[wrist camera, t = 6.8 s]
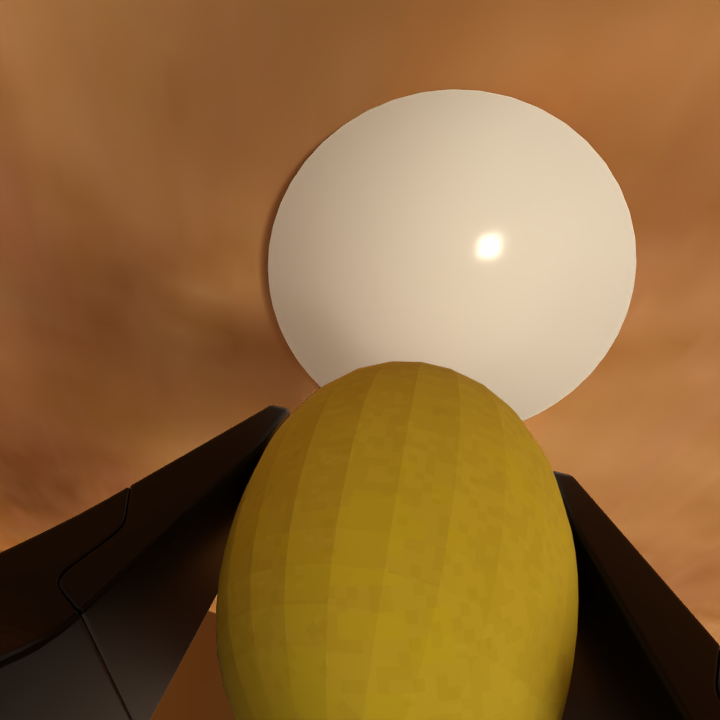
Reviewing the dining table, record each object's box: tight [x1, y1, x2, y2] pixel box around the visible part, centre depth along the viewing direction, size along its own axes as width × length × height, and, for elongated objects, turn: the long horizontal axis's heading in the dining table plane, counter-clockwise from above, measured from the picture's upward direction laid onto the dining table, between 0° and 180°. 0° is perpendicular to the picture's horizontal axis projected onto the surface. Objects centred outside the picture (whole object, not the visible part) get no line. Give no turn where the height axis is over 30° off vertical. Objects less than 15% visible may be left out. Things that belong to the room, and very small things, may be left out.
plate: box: [268, 89, 636, 421], centre depth 17 cm, size 14×14×1 cm
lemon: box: [216, 361, 578, 720], centre depth 7 cm, size 6×6×8 cm
